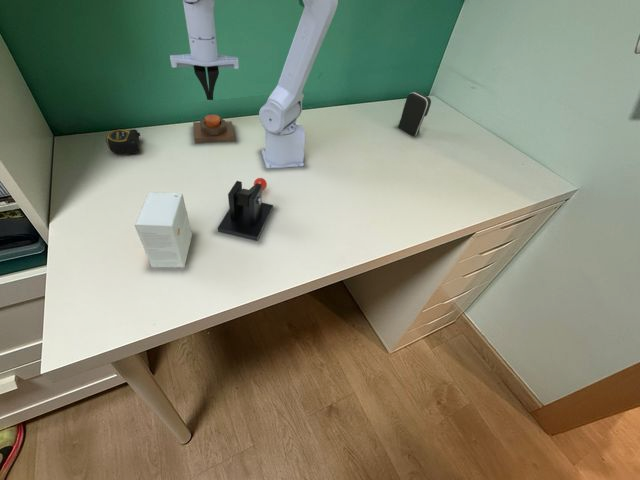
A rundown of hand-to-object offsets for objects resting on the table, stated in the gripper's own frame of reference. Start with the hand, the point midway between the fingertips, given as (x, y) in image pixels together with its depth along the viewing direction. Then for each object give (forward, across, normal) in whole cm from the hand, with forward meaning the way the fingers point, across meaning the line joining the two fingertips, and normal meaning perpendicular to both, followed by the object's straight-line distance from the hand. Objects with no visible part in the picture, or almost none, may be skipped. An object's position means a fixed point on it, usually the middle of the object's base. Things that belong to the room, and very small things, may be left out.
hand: (209, 98), depth 80 cm
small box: (+10, +10, +40) cm, 42 cm away
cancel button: (+7, 0, 0) cm, 7 cm away
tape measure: (+10, +20, +5) cm, 23 cm away
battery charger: (+10, -58, +2) cm, 59 cm away
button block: (+10, 0, 0) cm, 10 cm away
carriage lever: (+7, -6, +31) cm, 32 cm away
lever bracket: (+10, -4, +34) cm, 36 cm away
